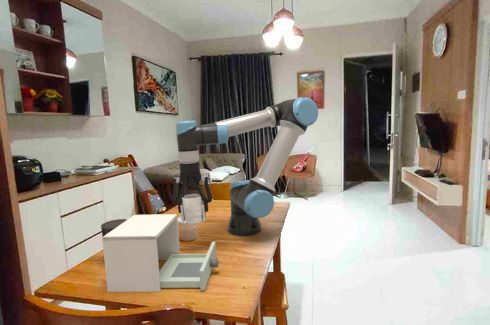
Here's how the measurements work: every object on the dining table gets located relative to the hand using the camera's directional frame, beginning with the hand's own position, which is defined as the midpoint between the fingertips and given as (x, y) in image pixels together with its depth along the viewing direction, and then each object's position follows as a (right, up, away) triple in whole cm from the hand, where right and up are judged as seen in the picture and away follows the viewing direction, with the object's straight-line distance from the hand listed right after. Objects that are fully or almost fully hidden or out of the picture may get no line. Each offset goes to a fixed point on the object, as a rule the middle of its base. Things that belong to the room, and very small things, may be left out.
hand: (194, 220), depth 118 cm
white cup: (0, -1, 0) cm, 1 cm away
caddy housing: (-13, -15, -16) cm, 25 cm away
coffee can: (-27, -14, -4) cm, 31 cm away
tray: (+1, -14, -17) cm, 22 cm away
